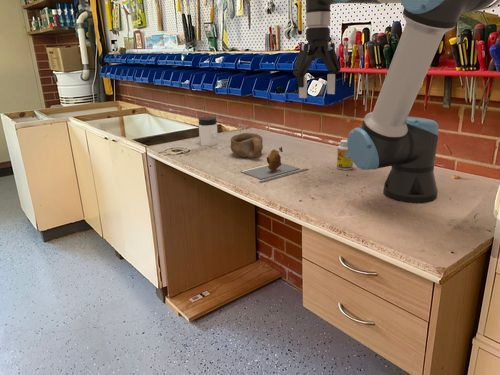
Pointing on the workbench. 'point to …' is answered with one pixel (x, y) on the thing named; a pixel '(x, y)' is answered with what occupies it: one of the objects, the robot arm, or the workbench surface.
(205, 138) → the jar
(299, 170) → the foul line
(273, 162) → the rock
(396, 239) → the workbench surface
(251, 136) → the bowl
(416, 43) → the robot arm
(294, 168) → the mat
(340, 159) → the supplement bottle
